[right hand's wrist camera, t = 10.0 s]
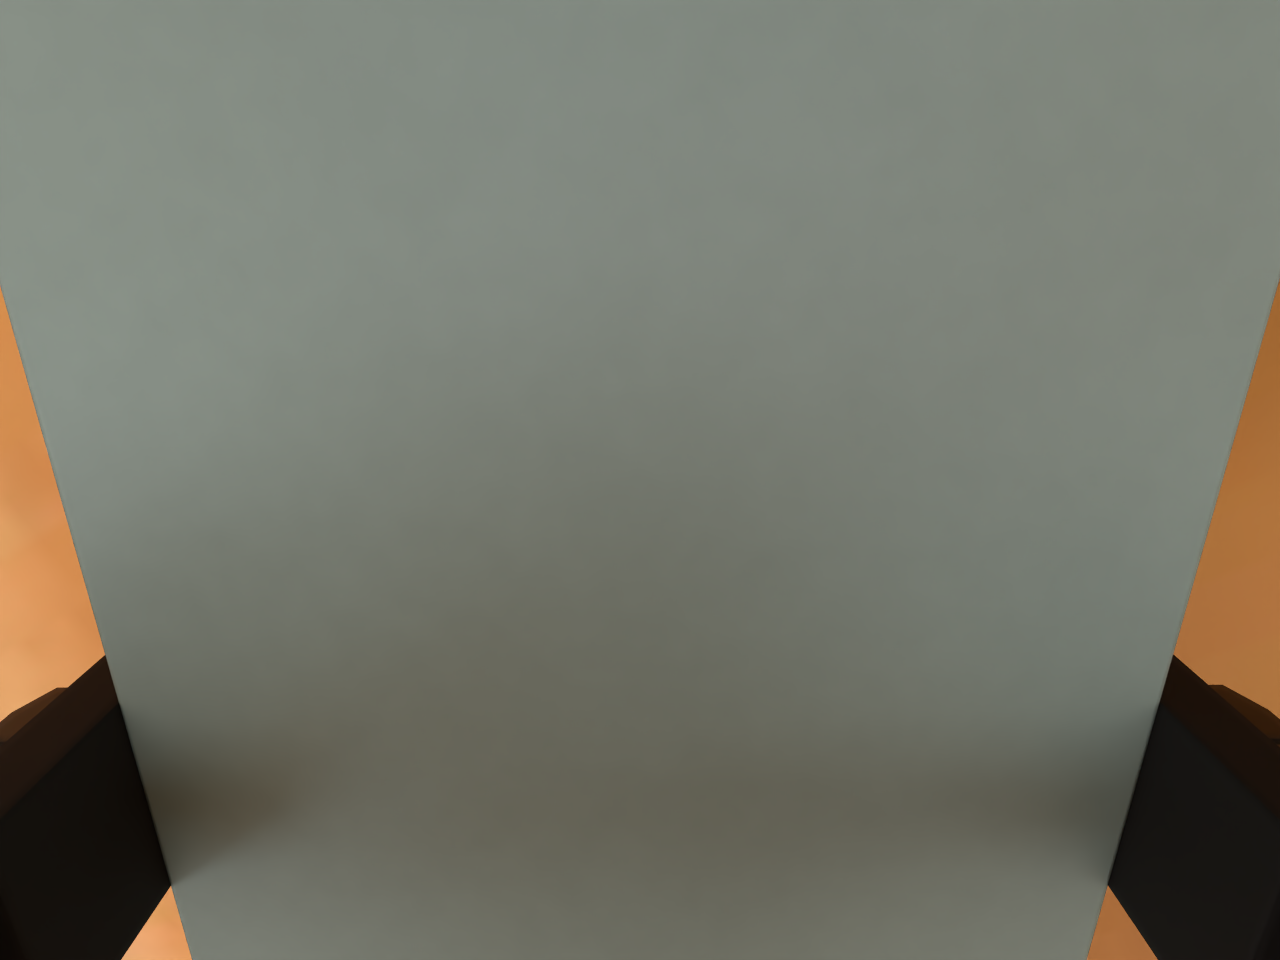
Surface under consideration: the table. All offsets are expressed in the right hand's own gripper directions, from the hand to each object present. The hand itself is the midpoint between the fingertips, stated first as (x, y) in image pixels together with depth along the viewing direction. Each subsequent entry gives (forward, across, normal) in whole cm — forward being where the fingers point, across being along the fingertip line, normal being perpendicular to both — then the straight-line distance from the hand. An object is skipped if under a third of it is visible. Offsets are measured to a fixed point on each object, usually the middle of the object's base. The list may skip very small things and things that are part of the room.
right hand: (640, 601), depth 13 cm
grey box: (+6, 0, -2) cm, 7 cm away
